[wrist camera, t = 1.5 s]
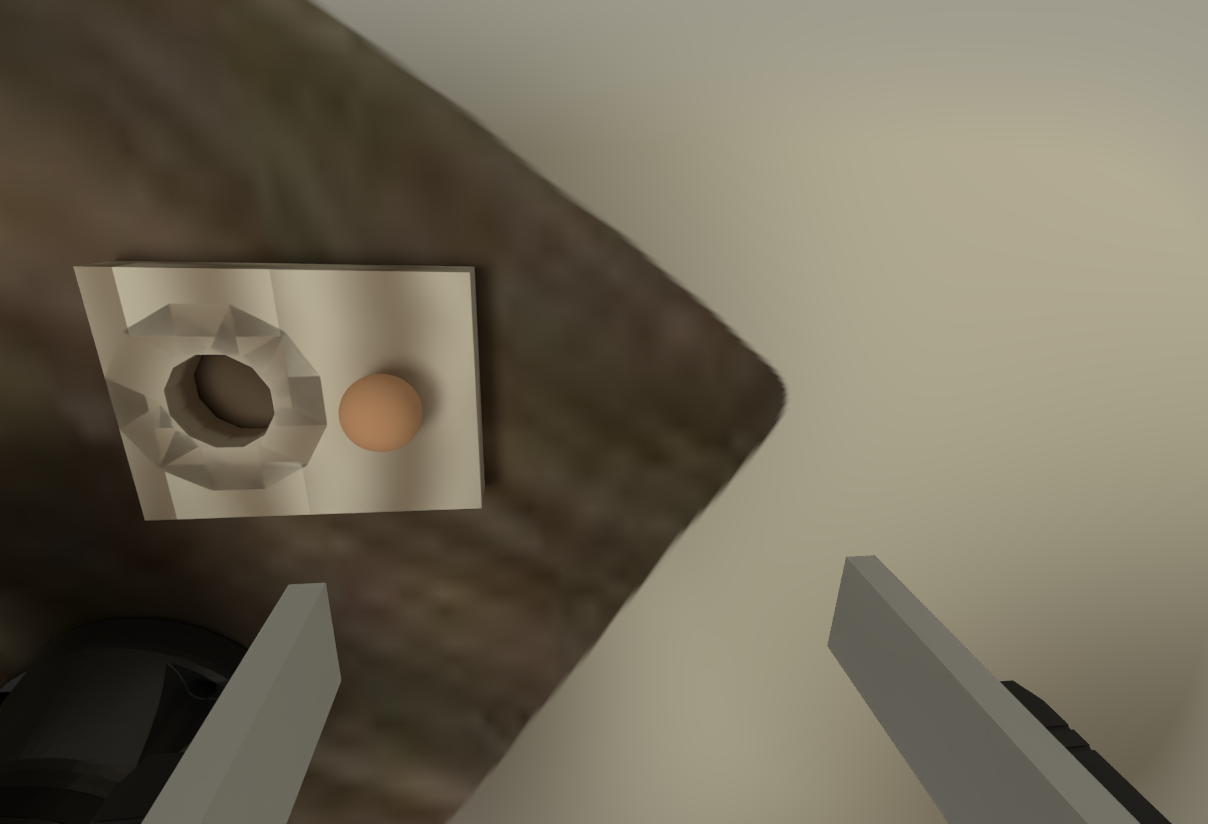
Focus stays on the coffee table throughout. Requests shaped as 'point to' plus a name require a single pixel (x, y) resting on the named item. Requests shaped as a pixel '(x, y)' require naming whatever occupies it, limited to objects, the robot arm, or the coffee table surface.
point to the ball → (380, 412)
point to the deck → (288, 383)
